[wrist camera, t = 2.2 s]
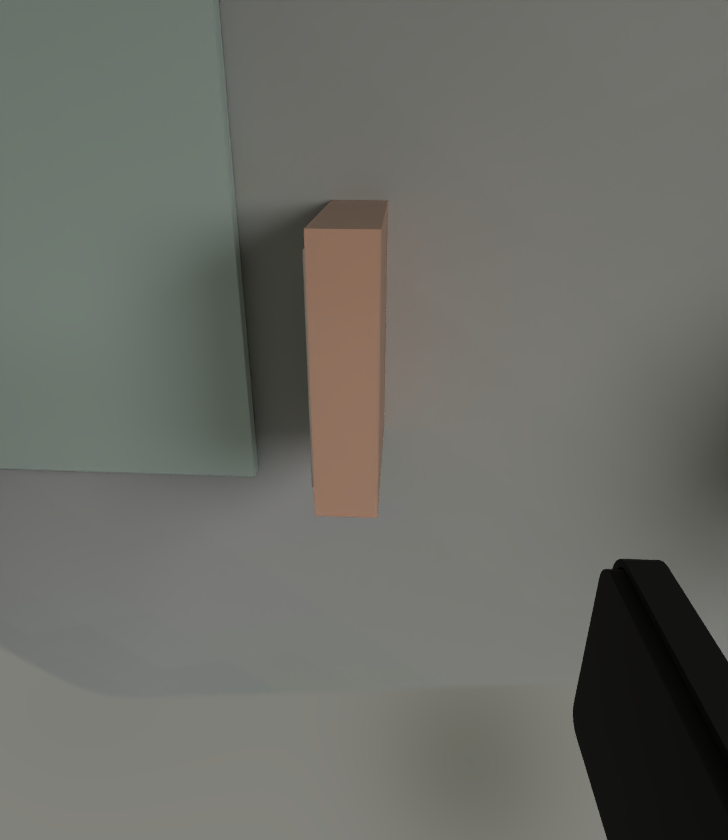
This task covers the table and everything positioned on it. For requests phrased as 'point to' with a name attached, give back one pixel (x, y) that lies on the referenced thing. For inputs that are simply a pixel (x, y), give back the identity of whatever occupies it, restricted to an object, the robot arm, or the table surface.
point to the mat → (120, 242)
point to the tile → (346, 353)
